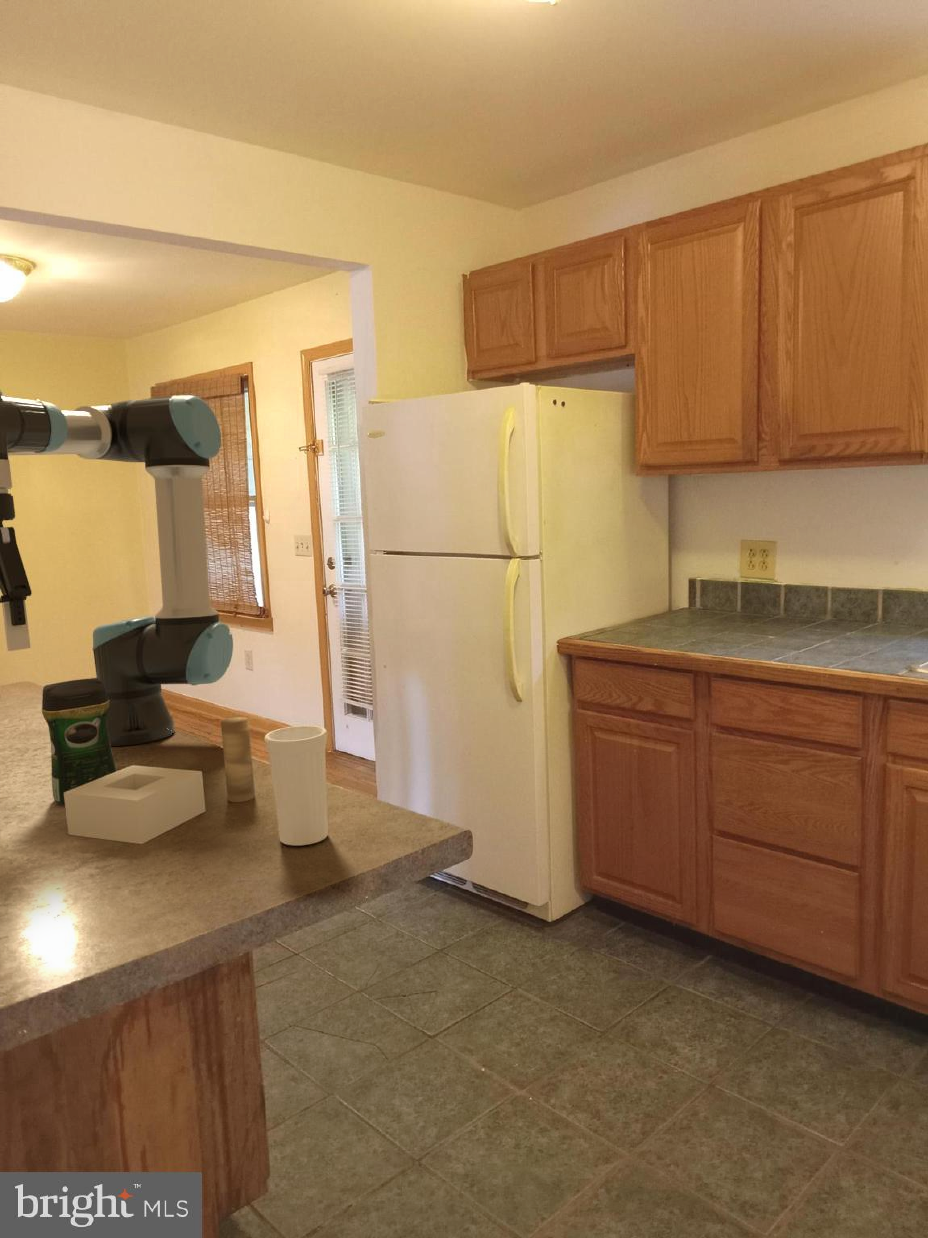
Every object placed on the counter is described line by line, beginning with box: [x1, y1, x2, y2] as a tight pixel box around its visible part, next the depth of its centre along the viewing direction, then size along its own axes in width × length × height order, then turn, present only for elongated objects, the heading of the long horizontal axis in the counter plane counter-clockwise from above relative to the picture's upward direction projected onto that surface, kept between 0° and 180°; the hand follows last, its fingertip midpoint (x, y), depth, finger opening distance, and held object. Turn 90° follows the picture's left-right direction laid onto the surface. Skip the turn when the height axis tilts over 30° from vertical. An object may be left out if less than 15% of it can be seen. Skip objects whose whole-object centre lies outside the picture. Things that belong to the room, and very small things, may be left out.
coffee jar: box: [41, 677, 118, 806], centre depth 140 cm, size 10×8×19 cm
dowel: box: [220, 716, 256, 803], centre depth 136 cm, size 4×4×12 cm
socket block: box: [64, 764, 207, 845], centre depth 128 cm, size 13×13×6 cm
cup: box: [264, 725, 329, 846], centre depth 118 cm, size 8×8×14 cm
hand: (0, 645), depth 127 cm, fingers open, 13 cm apart
